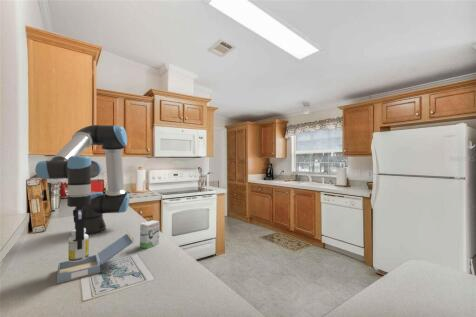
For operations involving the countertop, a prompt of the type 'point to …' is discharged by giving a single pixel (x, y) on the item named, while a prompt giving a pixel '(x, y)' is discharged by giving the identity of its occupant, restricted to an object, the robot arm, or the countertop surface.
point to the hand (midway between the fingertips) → (78, 253)
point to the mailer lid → (115, 248)
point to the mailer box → (77, 269)
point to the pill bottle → (72, 247)
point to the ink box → (149, 234)
